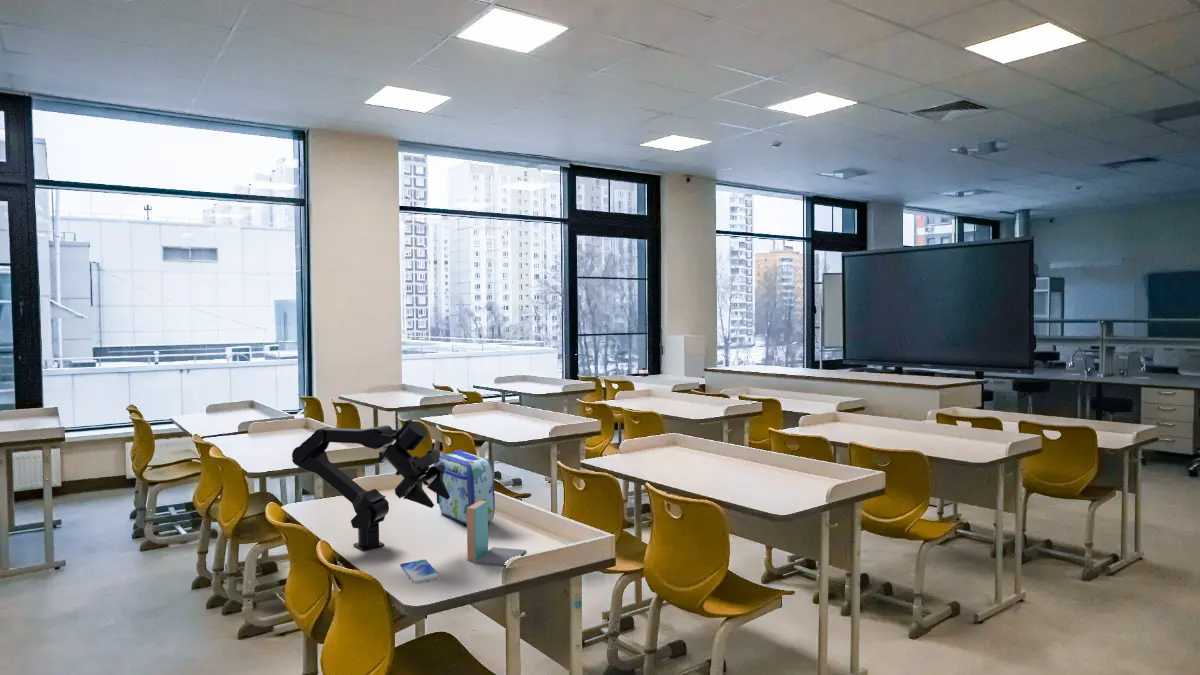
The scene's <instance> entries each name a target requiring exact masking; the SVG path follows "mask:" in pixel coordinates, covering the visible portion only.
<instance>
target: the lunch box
mask: <svg viewBox="0 0 1200 675" xmlns="http://www.w3.org/2000/svg"><path fill="white" fill-rule="evenodd" d="M439 459H440V462H438V463H437V464H441V465H442V466H443V467H444V468H445V470H444V475H443V482H444V484H445V487H446V489H447V491H448V493H449V495H450V498H449V499H448V500H447V499H445V498H443V497H441V496H440V495H438V494H437V493H436V505H439V506H438V507H439V510H440V513H441V515H443V514H444V516H447V517H449V518H451V519H455V520H456V521H459V522H461V523H463V524H465V525H467V508H468V507H470V506H471V505H473V504H474V503H476V502H478V501H488V522H491V521H492V520H493V519H494V517H495V508H496V505H495V501H496V500H495V481H494V474H493V470H492V467H491V464H490V462H489V461H488V460H487V459H485V458H483V457H481V456H479V455H475V454H473V453H470V452H465V451H463V449H458V450H453V453H447V454H440V458H439Z"/></svg>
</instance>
